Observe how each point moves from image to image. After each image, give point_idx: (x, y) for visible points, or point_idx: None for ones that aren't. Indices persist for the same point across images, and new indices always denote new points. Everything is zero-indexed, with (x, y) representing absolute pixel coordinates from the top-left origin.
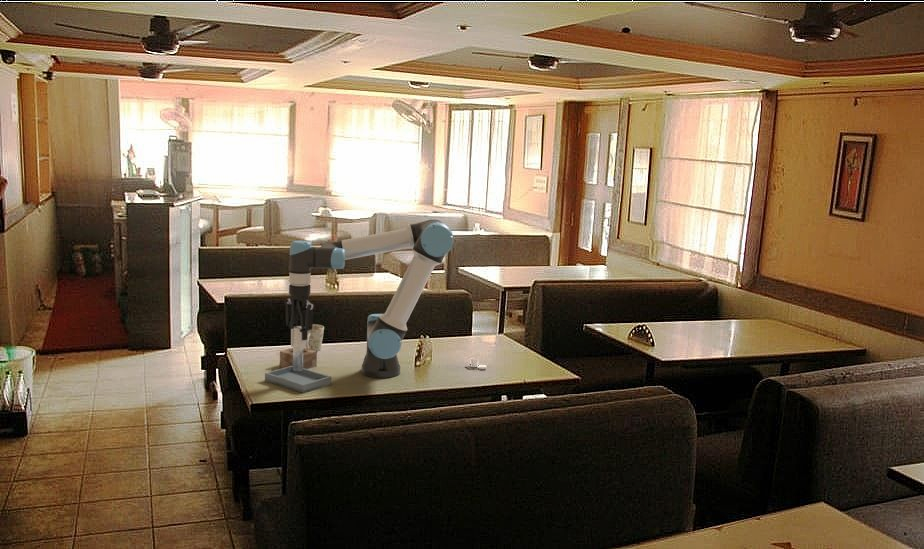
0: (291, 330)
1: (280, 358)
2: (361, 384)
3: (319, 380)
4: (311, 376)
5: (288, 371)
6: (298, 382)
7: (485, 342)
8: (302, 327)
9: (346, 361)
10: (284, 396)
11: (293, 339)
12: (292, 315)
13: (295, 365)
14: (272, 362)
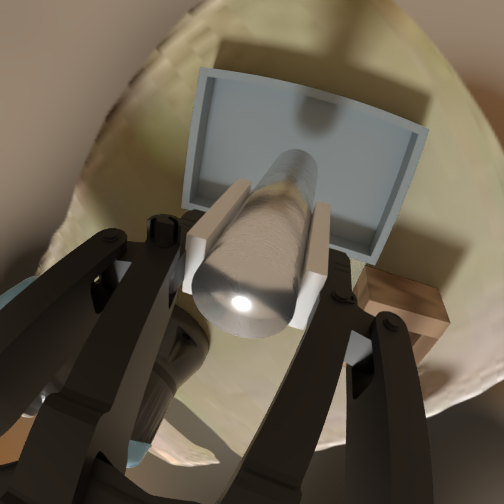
0: (323, 266)
1: (442, 305)
2: (133, 237)
3: (188, 149)
4: None
5: (378, 226)
6: (280, 136)
7: (161, 449)
8: (149, 257)
9: (280, 375)
10: (249, 11)
11: (298, 216)
12: (296, 412)
13: (291, 154)
14: (465, 308)
